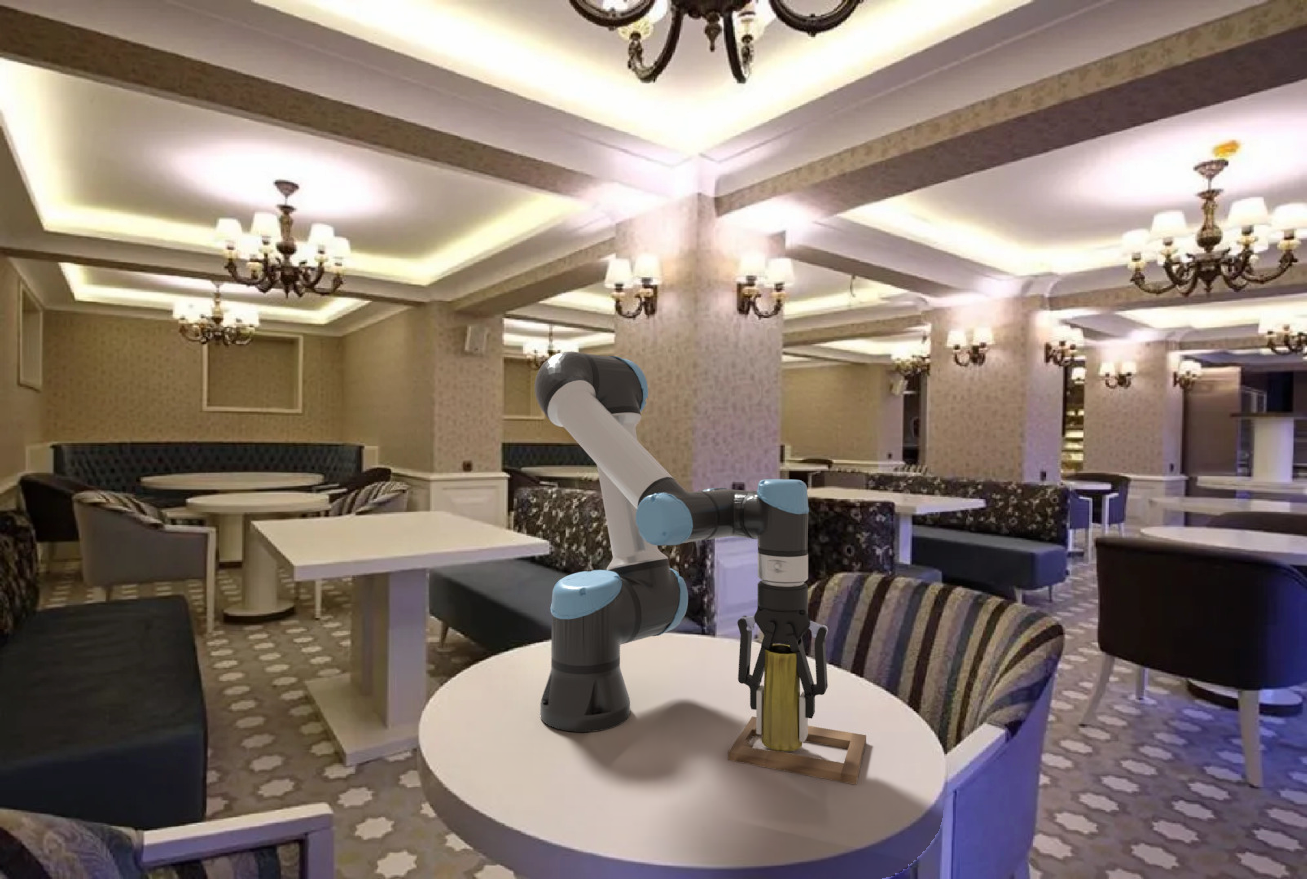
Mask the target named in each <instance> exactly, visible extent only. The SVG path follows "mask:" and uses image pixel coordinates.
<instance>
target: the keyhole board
mask: <svg viewBox="0 0 1307 879" xmlns="http://www.w3.org/2000/svg"><path fill="white" fill-rule="evenodd" d="M757 736H761V737H762V734H761V735H760V734H756V716H751V717H750V718H749V721H748V722H747V724H746V725H745V726H744V728H743V729H742V731H741V733H739V735H738V736H737V738H736V739H735V741H734V743H733V744H732V745H731V747H730V748H729V750H728V751H727V760H728V761H732V762H737V763H743V764H747V765H751V766H752V765H753V766H755V767H756V766H758V767H763V768H766V769H767V768H768V769H772V770H777V771H783V772H787V773H788V772H789V773H792V774H793V773H794V774H799V775H804V776H809V777H814V778H819V779H820V778H821V779H824V780H828V781H829V780H830V781H835V782H840V783H845V784H851V785H855V786H857V784H858V780H859V779H858V778H859V776H860V771H861V767H862V766H861V765H862V762H863V758H864V754H865V748H866V745H867V735H866V734H860V733H854V732H849V731H842V730H836V729H832V728H831V729H830V728H825V727H817V726H813V725H811V726H810V725H808V736H807V738H806V740H805V742H809V743H815V744H820V745H826V746H832V747H837V748H843V749H847V751H846V755H845V759H844V761H843V762H839V761H833V760H828V759H822V758H818V757H812V756H807V755H806V756H805V755H802V754H801V755H800V754H794V753H791V752H781V751H775V750H772V749H769V750H767V749H762V748H757V747H753V745H752V743H750V741H751V739H752V738H756V737H757Z"/></svg>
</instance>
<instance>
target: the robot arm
mask: <svg viewBox="0 0 1307 879" xmlns="http://www.w3.org/2000/svg"><path fill="white" fill-rule="evenodd" d="M534 379H535V380H534V394H535V398H536V402H537V404H538V406H539V408H540V410H541V411H542V412H543V414H544V415H545V416H546V417H547V418H548V420H549V421H550V422H551V423H552V424H553V425H554V426H556V427H560V428H561V427H562V428H564V429H565V430H566V432H567V433H569V435H570V436H571V437H572V438H573V440H574V441H576V443H577V444H578V445H579V446H580V447H581V448H582V449H583V450H584V452H585V453H586V454H587V455H588V456H589V457H590V459H592V461H593V462H594V463H595V464H596V467H597V468H596V469H597V472H598V473H597V474H598V479H599V485H600V489H601V490H600V492H601V495H602V496H601V497H602V502H603V508H604V514H605V520H606V525H607V526H606V527H607V531H608V537H609V542H610V547H611V548H610V549H611V553H612V559H611V561H610V562H609V564H608V566H607V567H606V569H594V570H590V571H586V570H584V571H578V572H575V573H571V574H569V575H566V576H564V577H562V578H560V579H559V580H558V581H557V582H556V583H555V584H554V587H553V588H552V595H551V605H550V613H551V648H550V649H551V650H550V652H551V655H550V656H551V663H550V665H551V669H550V672H549V675H548V679H547V682H546V684H545V687H544V690H543V694H542V696H541V699H540V700H541V701H540V706H539V707H540V708H539V710H540V711H539V712H540V714H539V715H541V717H540V719H541V718H542V719H541V721H542V720H543V721H544V722H545V723H546V724H545V723H544V722H543V721H542V722H543V723H544V724H545V725H547V724H548V725H547V726H549V725H550V726H549V727H551V726H552V727H551V728H553V727H554V728H553V729H557V730H560V729H561V730H560V731H567V732H574V733H575V732H577V733H581V732H584V733H585V732H596V731H597V732H598V731H603V730H608V729H610V728H614V727H616V726H619V725H620V724H623V723H624V722H625V721H626V720H628V718H629V717H630V714H631V700H630V695H629V693H628V690H627V686H626V683H625V680H624V676H623V673H622V670H621V646H622V645H625V644H628V643H632V642H635V641H639V640H643V639H646V638H650V637H657V636H661V635H663V634H664V633H667V632H669V631H672V630H674V629H675V628H677V627H678V626H679V625H680V624H681V623H682V620H683V618H684V617H685V615H686V613H687V610H688V603H689V592H688V589H687V588H688V587H687V584H686V582H685V580H684V577H682V576H680V573H679V572H678V571H677V570H675V569H673V568H671V566H670V562H669V557H668V556H667V555H666V554H664V553H663V552H661V551H660V549H659V548H658V546H677V545H681V544H684V543H692V542H697V541H706V540H713V539H720V538H727V537H734V538H735V537H737V538H743V539H744V538H746V539H751V540H754V539H755V540H757V578H758V579H759V580H760V581H759V582H757V609H756V612H755V613H754V615H750V616H747V615H743V616H741V617H740V618H738V620H737V626H738V630H739V633H740V637H739V638H740V639H739V641H740V642H739V654H738V655H739V657H738V674H737V681H738V682H739V683H740V684H744V685H745V686H747V687H748V688H749V693H750V694H749V706H750V709H751V710H753V711H754V710H755V711H756V714H755V717H756V734H760V735H761V734H762V725H763V705H764V684H762V681H763V680H762V679H763V676H764V668H765V649H767V650H768V651H771V648H772V645H773V644H784V645H790V648H791V651H792V653H796V657H797V664H796V666H797V669H798V673H799V676H800V684H801V686H802V692H801V693H800V711H799V741H800V742H802V743H805V742H806V741H805V740H806V738H807V736H808V726H809V724H808V723H809V719H813V717H814V715H815V712H816V696H818V695H819V696H823V695H825V694H826V692H827V689H828V687H829V684H828V669H827V668H828V667H827V666H828V665H827V648H826V647H827V646H826V638H827V636H828V632H829V629H830V627H829V625H828V624H826V623H823V624H820V623H818V622H815V621H813V620H812V619H811V616H810V614H809V606H808V605H809V604H808V603H809V586H808V585H807V583H806V581H808V580H809V553H808V549H809V548H808V536H809V535H808V533H809V532H808V531H809V530H808V529H809V512H810V507H809V499H808V487H807V484H806V482H804V480H803V481H802V480H800V479H790V478H789V479H785V478H784V479H783V478H776V479H775V478H769V479H768V478H766V479H761V480H760V481H759V482H758V483H757V484H758V485H757V489H756V490H754V491H753V490H743V489H731V488H730V489H729V488H727V487H720V488H718V487H716V488H714V487H713V488H705V489H703V490H701V491H688V490H686V489H685V488H684V487H683V486H682V484H680V483H679V482H678V481H677V480H676V479H675V478H674V477H673V476H672V475H671V474H670V473H669V472H668V471H667V469H665V467H663V466H662V464H660V463H659V461H658V460H657V459H655V458H654V456H653V455H652V454H651V453H650V452H649V451H648V450H647V449H646V447H644V446H643V445H642V443H640V442H639V440H638V436H637V429H636V427H637V425H638V424H639V423H640V422H641V420H642V414H641V412H642V411H643V410H644V409H645V407H646V405H647V401H646V400H647V398H648V397H649V387H648V381H647V378H646V376H645V373H644V371H643V370H642V369H641V367H640V366H639V365H638V364H636V363H635V362H633V361H632V360H630V359H626V358H622V357H619V356H615V355H600V354H590V353H584V352H578V351H563V352H559V353H557V354H554V355H552V356H550V357H549V358H548V359H546V360H545V361H544V362H543V364H542V365H541V367H539V370H538V371H537V374H536V377H535V378H534ZM755 624H756V625H757V627H758V628H759V630H760V631H761V633H762V634H763V639H762V641H761V643H760V644H761V645H760V650H759V653H758V656H757V660H756V662H755V665H754V669H753V672H752V674H750V673H751V661H752V660H751V659H752V658H751V657H752V642H753V641H752V640H753V639H752V638H753V630H754V629H755ZM808 629H809V630H810V632H811V637H812V639H814V656H815V657H814V659H815V660H814V661H815V677H816V678H815V679H816V680H815V681H816V683H815V681H814V679H813V674H812V672H811V667H810V665H809V662H808V658H807V655H806V651H805V647H804V642H803V638H802V637H803V635H804V634H805V633H806V632H807V631H808ZM760 735H759V736H760Z"/></svg>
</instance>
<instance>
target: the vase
mask: <svg viewBox="0 0 1307 879" xmlns="http://www.w3.org/2000/svg"><path fill="white" fill-rule="evenodd" d="M796 664H797V657H796V653H792V651H791V648H790V645H785V644H782V643H777V644H774V643H773V645H772V648H771V651H768V650H767V649H765V668H764V674H763V676H764V678H763V679H764V680H763V686H764V705H763V725H762V736H761V739H760V741H761V743H762V745H763V746H764V747H766V748H768V749H769V750H774V751H780V752H785V753H791V752H794V751H797V750H799V749H801V748H802V746H803V742H800V741H799V711H800V696H801V680H800V676H799V673H798V669H797V666H796Z"/></svg>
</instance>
